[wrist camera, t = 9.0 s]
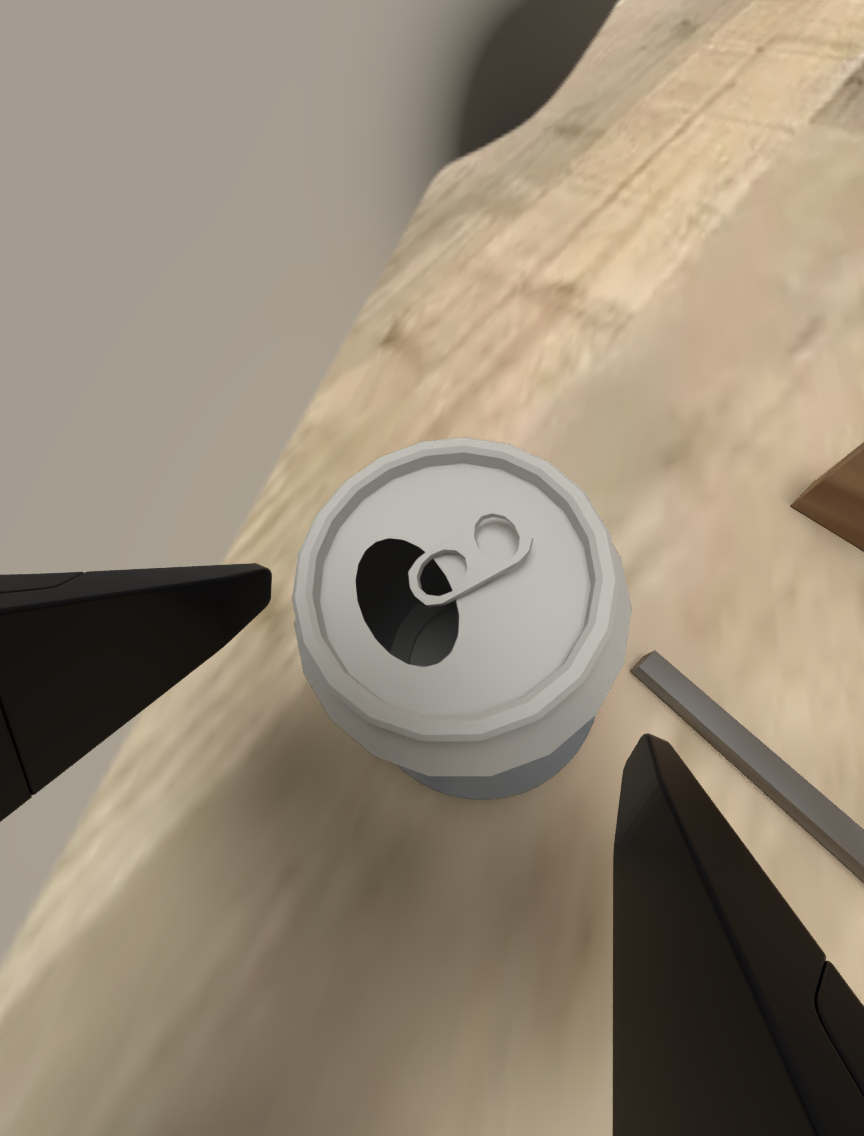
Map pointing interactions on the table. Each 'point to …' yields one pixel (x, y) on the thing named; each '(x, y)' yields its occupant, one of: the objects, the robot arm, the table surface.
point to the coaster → (507, 774)
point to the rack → (859, 515)
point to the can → (460, 607)
